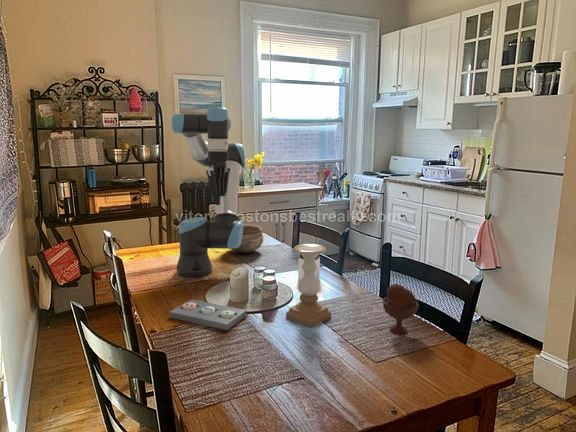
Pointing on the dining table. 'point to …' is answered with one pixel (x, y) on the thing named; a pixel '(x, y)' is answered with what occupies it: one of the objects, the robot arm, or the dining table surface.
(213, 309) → the button three
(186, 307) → the button two
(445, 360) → the dining table surface
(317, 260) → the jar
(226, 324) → the keypad board
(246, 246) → the cooking pot
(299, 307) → the candle holder
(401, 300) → the ice cream bowl
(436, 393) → the dining table surface
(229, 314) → the button one
